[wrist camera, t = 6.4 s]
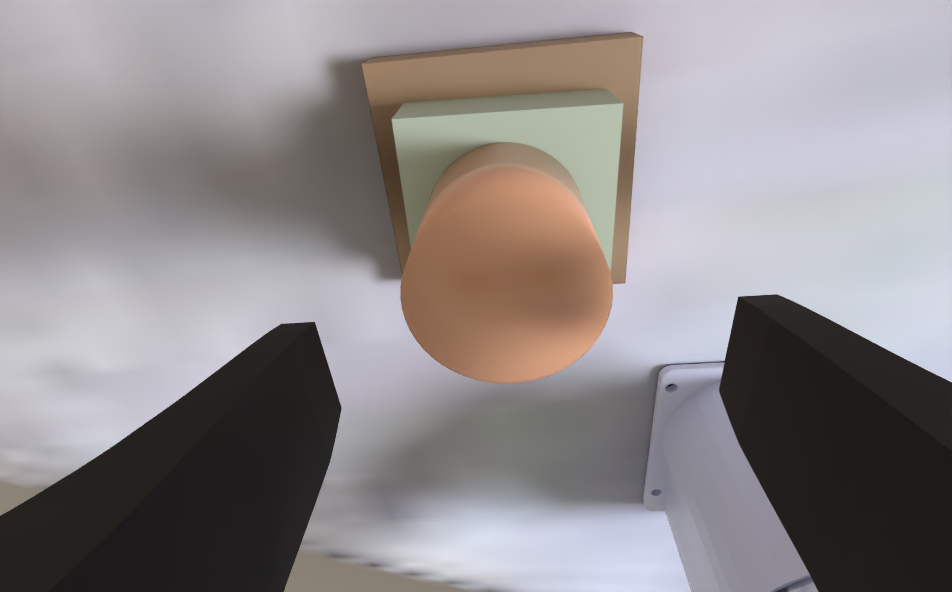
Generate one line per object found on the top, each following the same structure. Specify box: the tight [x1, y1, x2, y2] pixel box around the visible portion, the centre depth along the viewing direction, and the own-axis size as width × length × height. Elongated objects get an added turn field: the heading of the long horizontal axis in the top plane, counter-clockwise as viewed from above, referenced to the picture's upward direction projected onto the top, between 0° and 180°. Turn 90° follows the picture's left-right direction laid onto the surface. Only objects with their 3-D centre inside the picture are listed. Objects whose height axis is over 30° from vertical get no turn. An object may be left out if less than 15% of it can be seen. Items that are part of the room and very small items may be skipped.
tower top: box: [392, 89, 623, 273], centre depth 16 cm, size 6×6×2 cm
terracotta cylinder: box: [401, 142, 613, 383], centre depth 13 cm, size 4×4×4 cm
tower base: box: [362, 32, 643, 284], centre depth 17 cm, size 8×8×2 cm
